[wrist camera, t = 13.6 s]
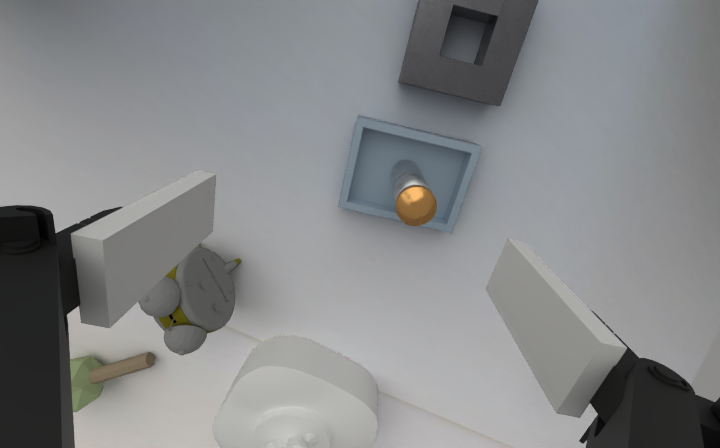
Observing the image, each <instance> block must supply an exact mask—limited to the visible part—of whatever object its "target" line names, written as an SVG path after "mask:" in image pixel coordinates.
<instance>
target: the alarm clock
mask: <svg viewBox="0 0 720 448" xmlns="http://www.w3.org/2000/svg"><path fill="white" fill-rule="evenodd" d="M240 263H241V260H240V259H236V260H234V261H232V262H229V263H227V264H225V263H224V262H223V260H222V259H221V258H220V257H219V256H218V255H217V254H216V253H214V252H212V251H210V250H207V249H204V248H200V244H199V245H198V246H197V247H195V248H194V249H193V250H192V251H191V252H190V253H189V254H188V255H187V256H186V257H185V258H184V259H183V260H182V261H181V262H180V263H178V264H177V265H176V266H175V267H174V268H173V269H172V270H171V271H170V272H169V273H168V274H167V275H166V276H165V277H164V278H163V279H161V280H160V281H159V282H158V283H157V284H156V285H155V286H154V287H153V288H152V289H151V290H150V291H149V292H148V293H147V294H145V295H144V296H143V297H142V298H141V299H140V300H139V301H138V302H139V304H140V307H141V309H142V310H143V311H144V312H145V313H146V314H147V315H150V316H153V317H154V319H155V321H156V322H157V323H158V325H159V326H160V327H161V328H162V329H163V330H164V331H165V333H164V341H165V344H166V346H167V347H168V348H169V350H171V351H173V352H175V353H177V354H179V355H184V354H188V353H191V352H193V351H195V350H197V349H198V348H199V347H201V345H202V344H203V342H204V341H205V339H206V336H207V333H210V332H213V331H216V330H218V329H220V328H222V327H223V326H225V324H226V323H227V322H228V321H229V320H230V318H231V316H232V313H233V310H234V305H235V288H234V283H233V280H232V277H231V274H230V272H231V271H232V270H233V269H234V268H235V267H236V266H237V265H239V264H240Z"/></svg>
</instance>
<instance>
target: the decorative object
mask: <svg viewBox="0 0 720 448" xmlns="http://www.w3.org/2000/svg"><path fill="white" fill-rule="evenodd" d="M153 364H154V356H153V354H152V353H145V354H141V355H138V356H135V357H131V358H128V359H125V360H121V361H118V362H115V363H111V364H108V365H105V366H102V365H101V364H100V363H99V362H98V361H96V360H95V359H94V358H93V357H92V356H89V357H83V358H75V359H71V360H70V370H71V388H72V406H73V411H74V412H77V411H79V410H80V409H82V408H83V407H85V406H86V405H88V404H89V403H91V402H92V401H94V400H95V399H97V398H98V397H99V396H100V394H101V392H102V390H103V387H104V382H105V381H107V380H110V379H113V378H117V377H120V376H123V375H126V374H130V373H133V372H136V371H140V370H143V369H146V368H150V367H152V366H153Z"/></svg>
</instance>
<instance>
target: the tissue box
mask: <svg viewBox="0 0 720 448" xmlns="http://www.w3.org/2000/svg"><path fill="white" fill-rule="evenodd" d="M377 432H378V387H377V383H376V381H375V379H374V378H373V376H372V375H371V373H370V372H369V371H368V370H367V369H366V368H365V367H363V366H362V365H361V364H359V363H357V362H356V361H354V360H352V359H350V358H348V357H346V356H344V355H342V354H340V353H338V352H336V351H334V350H332V349H330V348H328V347H325V346H323V345H321V344H319V343H317V342H315V341H313V340H311V339H308V338H304V337H300V336H294V335H278V336H274V337H271V338H269V339H266V340H264V341H263V342H261V343H260V344H258V345H257V346H256V347H255V348H254V349H253V350H252V352H251V353H250V354H249V356H248V358H247V359H246V361H245V363H244V365H243V366H242V368H241V370H240V371H239V373H238V375H237V376H236V378H235V380H234V382H233V384H232V386H231V388H230V390H229V392H228V394H227V396H226V398H225V400H224V402H223V404H222V406H221V408H220V410H219V412H218V414H217V416H216V418H215V420H214V424H213V433H214V436H215V439H216V441H217V442H218V444H219V446H220V447H221V448H370V447H371V446H372V445H373V443H374V441H375V440H376V437H377Z"/></svg>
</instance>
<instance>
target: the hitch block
mask: <svg viewBox="0 0 720 448" xmlns="http://www.w3.org/2000/svg"><path fill="white" fill-rule="evenodd" d="M537 3H538V0H419V1H418V5H417V9H416V13H415V17H414V21H413V25H412V29H411V33H410V37H409V41H408V45H407V49H406V53H405V57H404V61H403V65H402V69H401V73H400V77H399V81H398V82H399V83H403V84H407V85H411V86H415V87H419V88H423V89H428V90H432V91H436V92H440V93H444V94H448V95H452V96H456V97H460V98H464V99H468V100H472V101H476V102H480V103H484V104H488V105H496V106H500V105H501V102H502V99H503V97H504V94H505V91H506V88H507V86H508V83H509V80H510V77H511V75H512V72H513V69H514V66H515V64H516V61H517V58H518V55H519V52H520V50H521V47H522V44H523V41H524V39H525V36H526V33H527V30H528V28H529V25H530V22H531V19H532V17H533V14H534V11H535V8H536V5H537ZM451 14H453V15H457V16H461V17H465V18H468V19H472V20H476V21H480V22H484V23H487V25H486V28H485V31H484V34H483V38H482V41H481V44H480V47H479V50H478V53H477V56H476V59H475V63H474V64H470V63H466V62H462V61H458V60H454V59H450V58H446V57H442V56H439V54H440V50H441V47H442V43H443V40H444V36H445V32H446V29H447V25H448V22H449V18H450V15H451Z"/></svg>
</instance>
